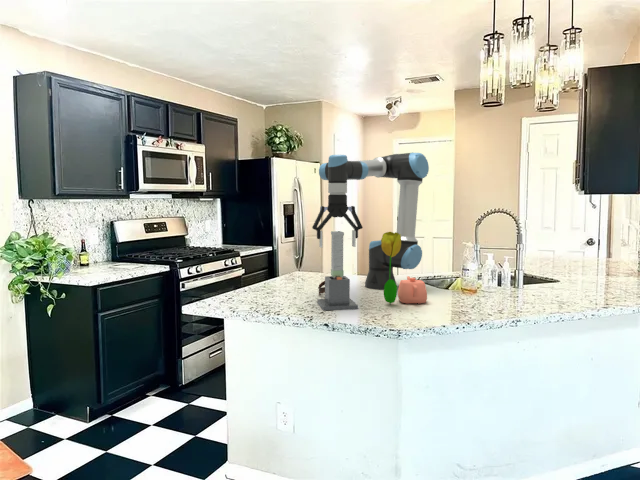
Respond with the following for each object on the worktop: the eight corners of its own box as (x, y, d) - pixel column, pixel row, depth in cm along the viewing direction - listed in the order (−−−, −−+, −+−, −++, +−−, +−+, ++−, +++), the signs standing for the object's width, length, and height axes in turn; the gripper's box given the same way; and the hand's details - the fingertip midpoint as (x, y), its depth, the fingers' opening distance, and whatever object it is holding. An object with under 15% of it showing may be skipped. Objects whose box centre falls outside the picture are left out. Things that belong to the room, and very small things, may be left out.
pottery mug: (342, 298, 212) (334, 283, 209) (323, 307, 214) (315, 292, 211) (342, 286, 223) (334, 272, 221) (324, 294, 225) (316, 280, 222)
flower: (379, 302, 202) (380, 231, 200) (398, 302, 202) (399, 231, 199) (381, 307, 194) (382, 233, 191) (401, 307, 194) (402, 233, 191)
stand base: (349, 301, 204) (349, 272, 203) (358, 309, 190) (358, 277, 189) (317, 302, 202) (317, 273, 200) (323, 310, 188) (323, 279, 187)
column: (340, 280, 198) (340, 231, 196) (343, 283, 193) (344, 232, 191) (330, 281, 198) (330, 231, 196) (333, 283, 192) (333, 232, 190)
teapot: (401, 306, 195) (402, 281, 194) (394, 297, 213) (395, 273, 212) (429, 306, 195) (430, 281, 194) (420, 297, 213) (421, 274, 212)
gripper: (365, 193, 198) (364, 245, 200) (305, 194, 193) (305, 246, 195) (370, 194, 190) (369, 247, 192) (308, 194, 186) (308, 248, 188)
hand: (337, 246), depth 194 cm, fingers open, 13 cm apart
